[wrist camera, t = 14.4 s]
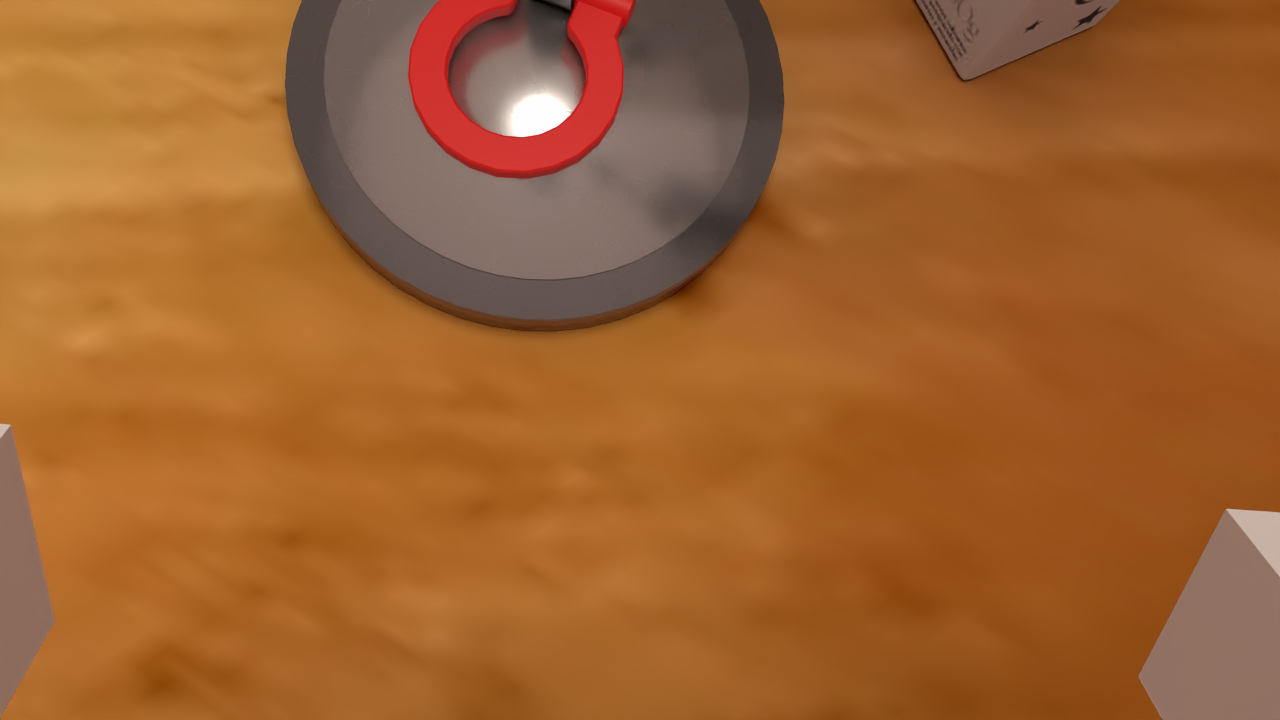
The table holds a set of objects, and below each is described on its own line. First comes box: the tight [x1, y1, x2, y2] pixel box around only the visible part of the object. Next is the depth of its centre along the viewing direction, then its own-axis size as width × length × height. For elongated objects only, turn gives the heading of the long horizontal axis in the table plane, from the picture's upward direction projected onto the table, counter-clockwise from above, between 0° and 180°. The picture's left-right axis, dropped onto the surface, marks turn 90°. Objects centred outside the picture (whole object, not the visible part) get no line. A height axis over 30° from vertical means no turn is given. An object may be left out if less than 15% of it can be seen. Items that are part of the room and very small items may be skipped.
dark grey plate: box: [285, 0, 784, 331], centre depth 44 cm, size 20×20×2 cm
